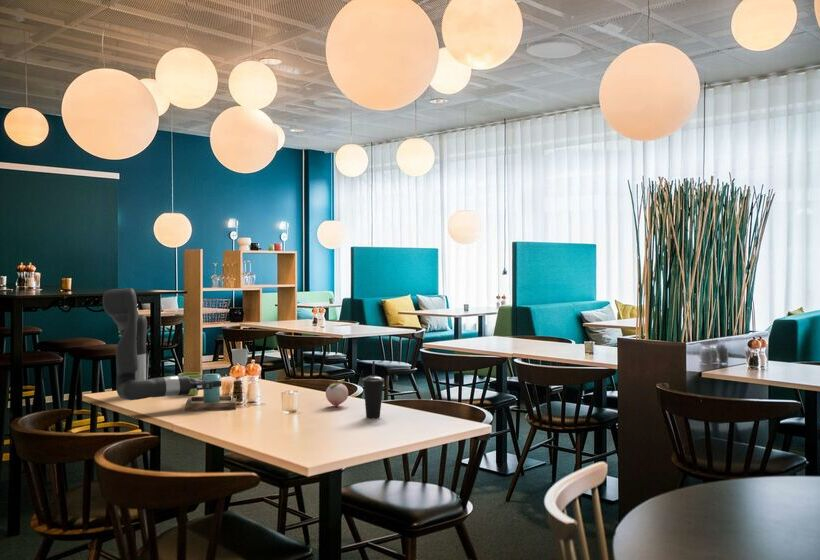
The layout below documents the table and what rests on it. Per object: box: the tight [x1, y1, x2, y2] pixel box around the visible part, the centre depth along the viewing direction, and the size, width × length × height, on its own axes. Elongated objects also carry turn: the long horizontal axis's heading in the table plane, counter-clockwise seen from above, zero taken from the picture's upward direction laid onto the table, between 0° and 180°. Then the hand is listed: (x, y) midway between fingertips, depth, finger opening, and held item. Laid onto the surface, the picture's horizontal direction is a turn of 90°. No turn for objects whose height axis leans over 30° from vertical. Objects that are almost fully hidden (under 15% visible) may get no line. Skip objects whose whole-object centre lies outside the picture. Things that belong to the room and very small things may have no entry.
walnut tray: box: [185, 395, 237, 411], centre depth 285 cm, size 18×16×2 cm
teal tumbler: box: [202, 373, 221, 403], centre depth 285 cm, size 6×6×11 cm
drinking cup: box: [362, 360, 385, 419], centre depth 267 cm, size 8×8×20 cm
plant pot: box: [177, 371, 203, 397], centre depth 311 cm, size 9×9×9 cm
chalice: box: [230, 348, 249, 367], centre depth 320 cm, size 7×7×18 cm
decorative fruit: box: [325, 380, 349, 407], centre depth 287 cm, size 9×8×10 cm
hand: (216, 382), depth 286 cm, fingers open, 8 cm apart
